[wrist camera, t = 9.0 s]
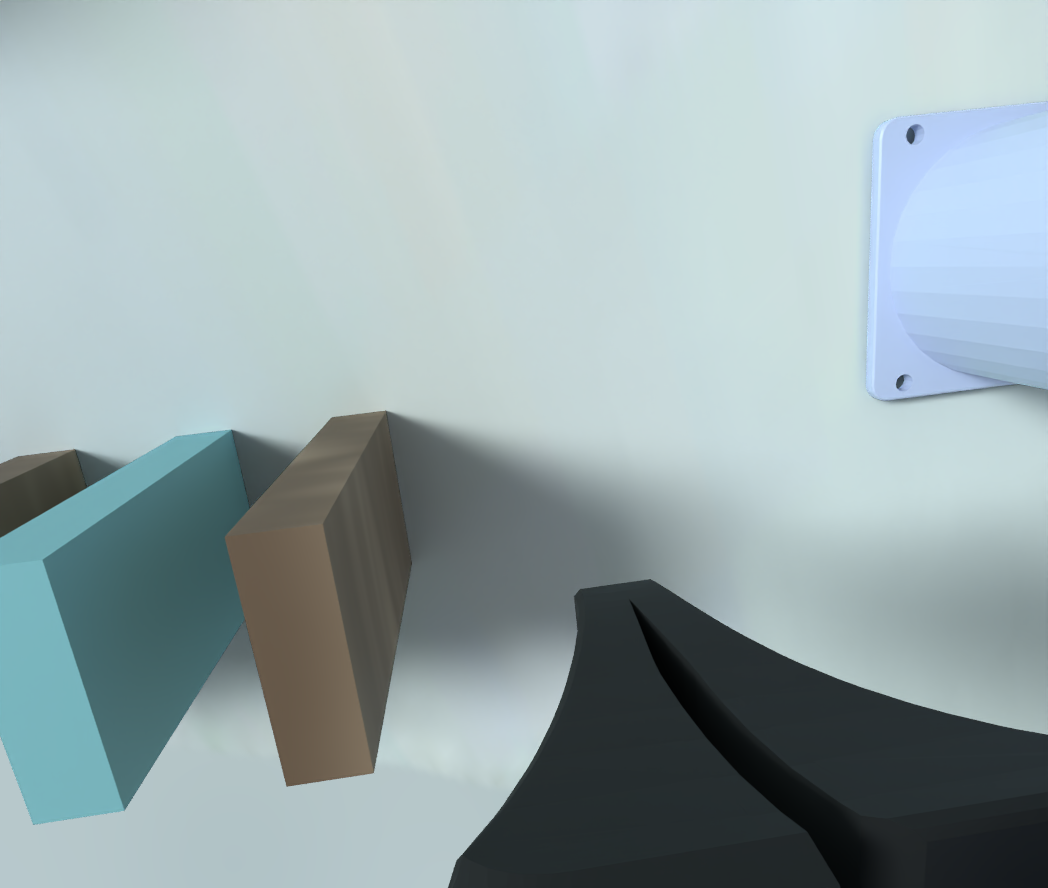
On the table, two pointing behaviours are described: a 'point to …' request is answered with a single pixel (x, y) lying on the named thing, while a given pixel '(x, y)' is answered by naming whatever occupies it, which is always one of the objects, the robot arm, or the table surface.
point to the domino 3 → (326, 596)
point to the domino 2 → (116, 623)
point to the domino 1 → (36, 486)
